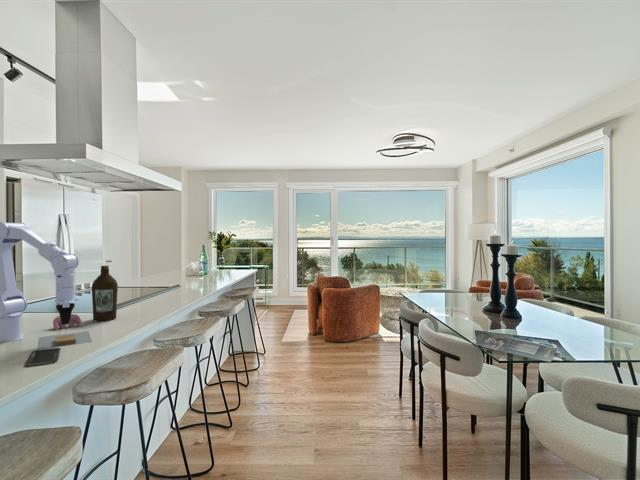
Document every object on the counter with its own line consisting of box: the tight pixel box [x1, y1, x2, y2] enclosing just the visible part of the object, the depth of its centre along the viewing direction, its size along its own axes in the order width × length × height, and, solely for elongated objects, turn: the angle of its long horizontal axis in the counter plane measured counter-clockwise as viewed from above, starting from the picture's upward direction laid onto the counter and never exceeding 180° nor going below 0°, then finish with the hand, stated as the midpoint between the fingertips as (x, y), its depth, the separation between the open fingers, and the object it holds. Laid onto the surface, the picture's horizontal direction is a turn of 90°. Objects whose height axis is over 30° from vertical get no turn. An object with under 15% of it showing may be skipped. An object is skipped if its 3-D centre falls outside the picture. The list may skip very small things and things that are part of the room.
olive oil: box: [91, 265, 119, 322], centre depth 173 cm, size 11×11×25 cm
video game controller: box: [52, 313, 83, 331], centre depth 157 cm, size 10×5×7 cm, turn 135°
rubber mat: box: [37, 330, 93, 350], centre depth 139 cm, size 18×16×1 cm
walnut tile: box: [55, 334, 76, 347], centre depth 135 cm, size 2×6×8 cm
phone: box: [25, 347, 62, 368], centre depth 120 cm, size 8×1×15 cm
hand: (65, 323), depth 136 cm, fingers closed
